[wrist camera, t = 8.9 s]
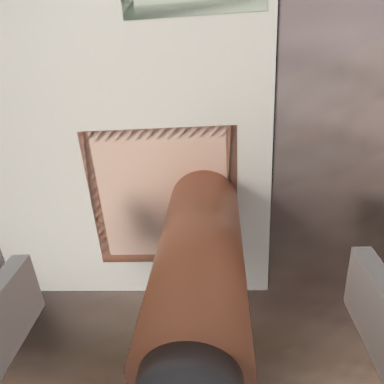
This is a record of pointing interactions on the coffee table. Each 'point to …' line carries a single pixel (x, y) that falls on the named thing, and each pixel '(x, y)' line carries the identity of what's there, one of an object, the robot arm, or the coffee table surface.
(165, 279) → the marker
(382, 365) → the robot arm
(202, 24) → the sheet
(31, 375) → the coffee table surface
